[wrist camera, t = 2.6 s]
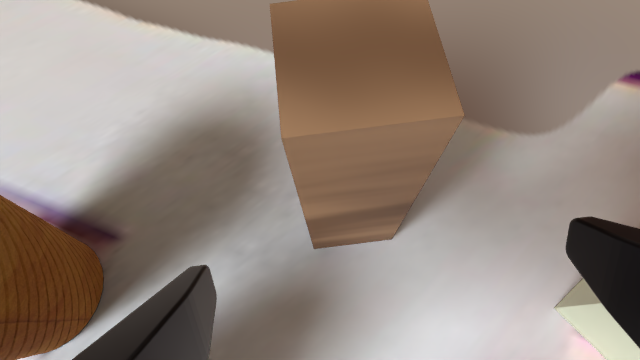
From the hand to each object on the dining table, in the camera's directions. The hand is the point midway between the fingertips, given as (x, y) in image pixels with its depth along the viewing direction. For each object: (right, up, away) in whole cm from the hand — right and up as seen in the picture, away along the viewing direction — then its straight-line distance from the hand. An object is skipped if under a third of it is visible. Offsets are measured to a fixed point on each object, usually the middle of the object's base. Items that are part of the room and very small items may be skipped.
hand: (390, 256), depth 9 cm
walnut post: (0, 0, +13) cm, 13 cm away
